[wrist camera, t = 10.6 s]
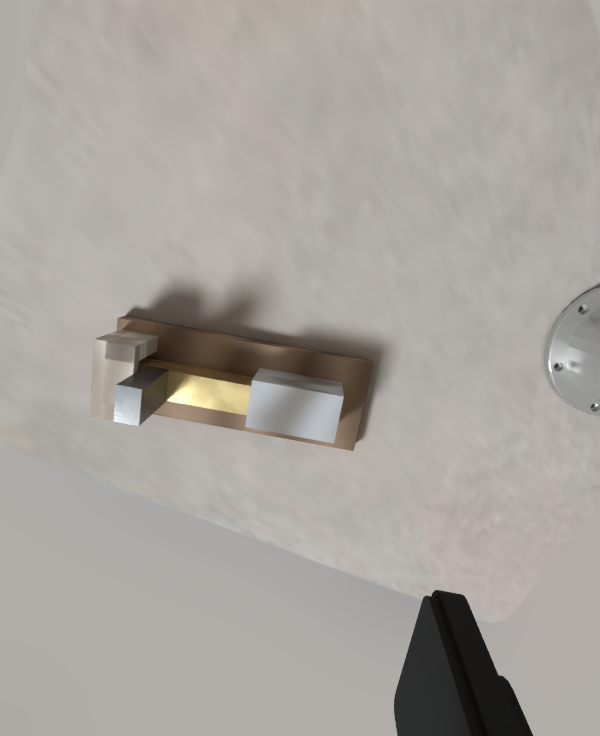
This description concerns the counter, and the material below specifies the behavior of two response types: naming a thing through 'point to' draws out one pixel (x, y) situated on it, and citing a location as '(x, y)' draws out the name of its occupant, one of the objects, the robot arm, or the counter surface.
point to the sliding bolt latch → (249, 358)
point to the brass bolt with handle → (178, 390)
